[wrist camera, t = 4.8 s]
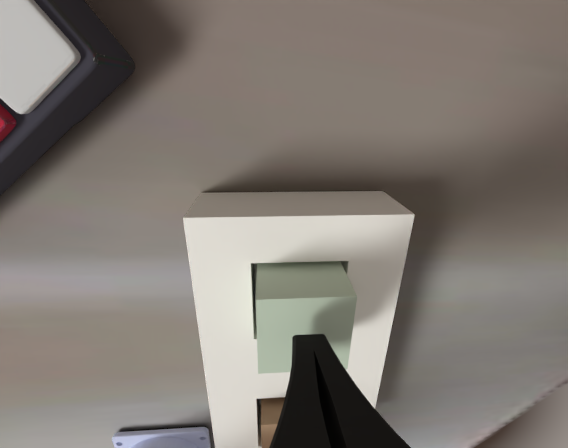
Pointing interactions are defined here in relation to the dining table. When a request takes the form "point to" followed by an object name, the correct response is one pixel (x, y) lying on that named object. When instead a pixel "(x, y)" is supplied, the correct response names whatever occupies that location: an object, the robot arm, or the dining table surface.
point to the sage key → (302, 310)
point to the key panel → (276, 249)
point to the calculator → (50, 76)
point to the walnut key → (270, 418)
